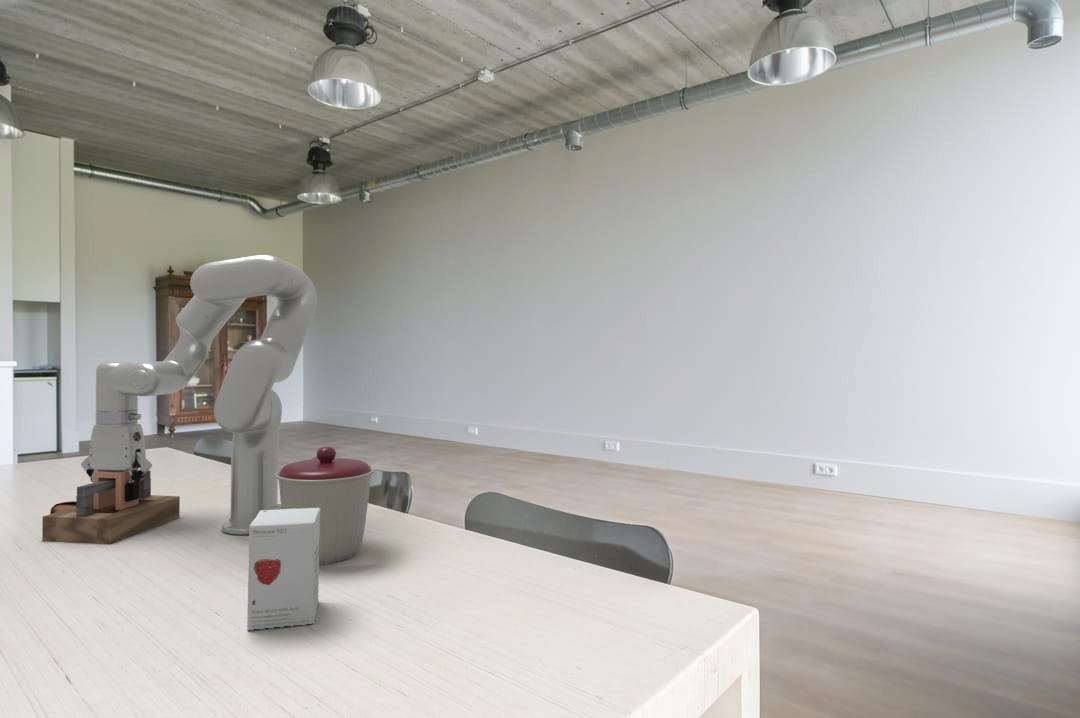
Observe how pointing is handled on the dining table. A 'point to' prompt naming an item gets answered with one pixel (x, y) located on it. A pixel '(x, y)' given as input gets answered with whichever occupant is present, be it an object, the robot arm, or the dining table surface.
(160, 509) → the wooden rectangular frame
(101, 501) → the pink u-channel block
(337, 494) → the canister
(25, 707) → the dining table surface
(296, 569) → the supplement box
